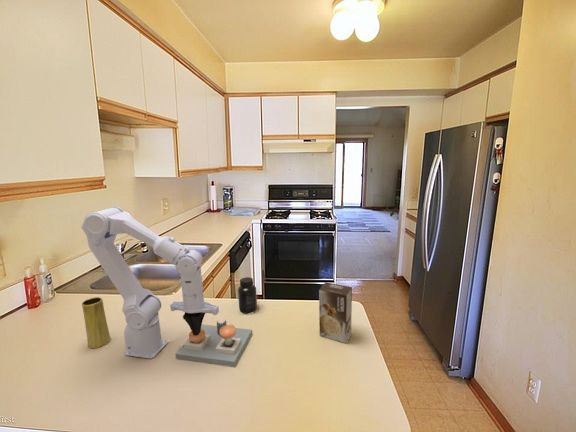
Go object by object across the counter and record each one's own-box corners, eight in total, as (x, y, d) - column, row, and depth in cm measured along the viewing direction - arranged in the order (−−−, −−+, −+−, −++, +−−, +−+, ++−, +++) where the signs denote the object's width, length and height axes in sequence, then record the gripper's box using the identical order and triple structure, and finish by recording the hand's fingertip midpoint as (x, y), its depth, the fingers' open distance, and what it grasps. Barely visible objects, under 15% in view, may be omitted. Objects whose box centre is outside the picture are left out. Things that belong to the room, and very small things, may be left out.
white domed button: (215, 334, 91) (214, 323, 90) (219, 329, 94) (219, 318, 93) (224, 335, 90) (223, 324, 89) (228, 330, 93) (227, 318, 92)
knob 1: (187, 350, 85) (185, 337, 84) (195, 340, 90) (193, 328, 89) (201, 352, 84) (200, 338, 83) (208, 342, 89) (207, 329, 88)
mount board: (175, 358, 83) (174, 349, 82) (201, 328, 97) (200, 320, 96) (234, 366, 79) (234, 357, 78) (252, 334, 93) (251, 326, 93)
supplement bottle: (258, 305, 111) (257, 276, 109) (255, 314, 105) (253, 284, 102) (241, 304, 112) (239, 275, 110) (236, 313, 105) (235, 283, 103)
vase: (99, 349, 87) (91, 307, 84) (82, 347, 88) (74, 305, 85) (115, 337, 93) (108, 297, 90) (99, 335, 94) (92, 295, 91)
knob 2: (217, 347, 83) (216, 333, 82) (224, 337, 87) (223, 324, 86) (232, 348, 82) (231, 335, 81) (238, 339, 86) (237, 325, 85)
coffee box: (352, 332, 93) (353, 286, 90) (346, 344, 87) (347, 295, 84) (325, 325, 97) (325, 281, 94) (318, 336, 92) (318, 289, 88)
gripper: (221, 287, 86) (225, 328, 88) (178, 283, 88) (182, 323, 91) (211, 298, 79) (214, 342, 82) (164, 294, 82) (169, 337, 85)
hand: (196, 333), depth 86 cm, fingers closed, pressing on knob 1
